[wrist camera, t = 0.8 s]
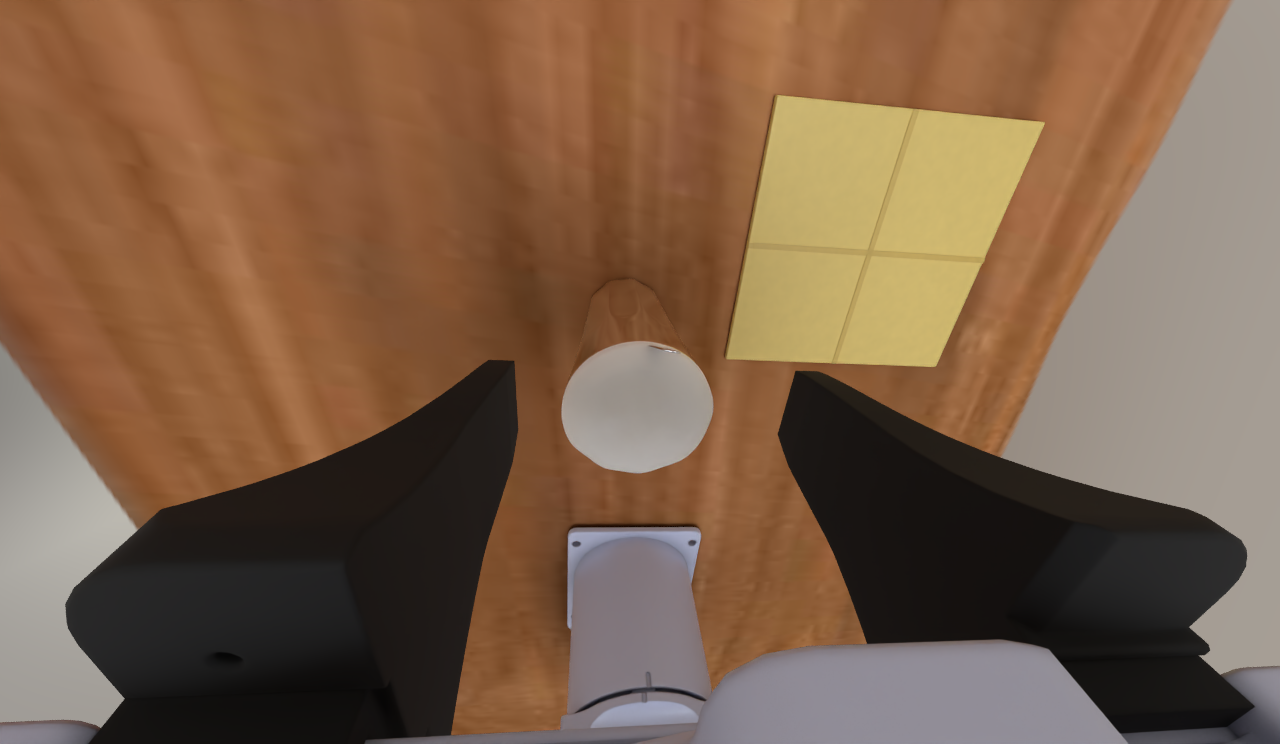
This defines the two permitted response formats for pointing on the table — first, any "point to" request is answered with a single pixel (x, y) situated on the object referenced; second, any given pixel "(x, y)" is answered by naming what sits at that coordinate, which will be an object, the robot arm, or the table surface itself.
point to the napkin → (870, 230)
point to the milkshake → (634, 385)
